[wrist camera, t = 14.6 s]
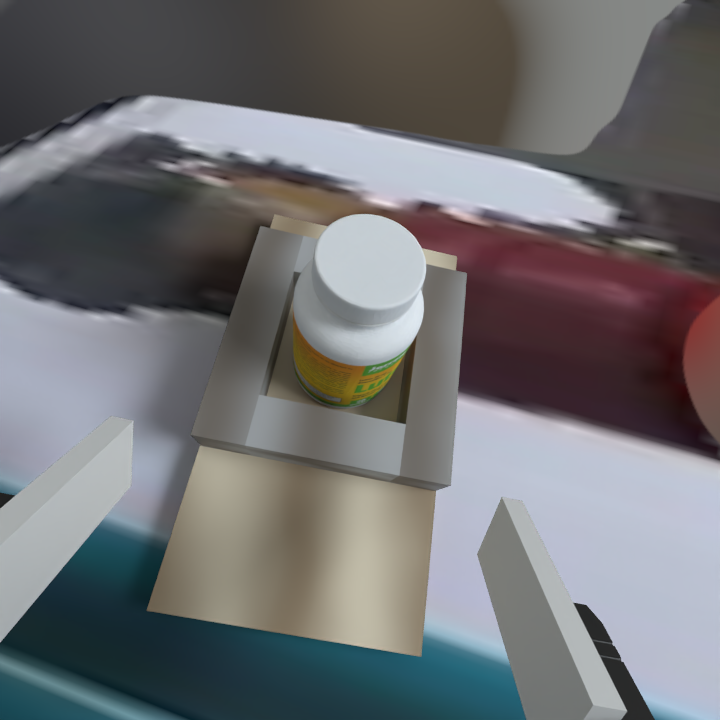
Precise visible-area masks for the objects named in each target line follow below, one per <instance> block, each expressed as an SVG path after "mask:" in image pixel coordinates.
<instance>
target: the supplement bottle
mask: <svg viewBox="0 0 720 720" xmlns="http://www.w3.org/2000/svg"><path fill="white" fill-rule="evenodd" d="M425 275H426V260H425V256H424V253H423V250H422V248H421V246H420V245H419V243H418V241H417V240H416V238H415V237H414V236H413V235H412V234H411V233H410V232H409V231H408V230H407V229H405V228H404V227H403V226H401V225H400V224H398V223H396V222H395V221H392V220H390V219H388V218H385V217H381V216H377V215H371V214H357V215H351V216H347V217H344V218H341V219H339V220H337V221H335V222H333V223H332V224H331V225H329V226H328V227H327V228H326V229H325V230H324V231H323V232H322V234H321V235H320V237H319V238H318V240H317V242H316V246H315V249H314V256H313V259H312V260H311V261H310V262H309V263H308V264H307V265H306V267H305V268H304V269H303V271H302V272H301V274H300V276H299V278H298V280H297V283H296V286H295V291H294V299H293V366H294V372H295V375H296V378H297V380H298V382H299V384H300V385H301V387H302V388H303V389H304V391H305V392H306V393H307V394H308V395H309V396H310V397H312V398H313V399H314V400H316V401H317V402H319V403H321V404H324V405H326V406H329V407H333V408H340V409H347V408H355V407H358V406H361V405H364V404H366V403H368V402H369V401H371V400H372V399H374V398H375V397H376V396H377V395H378V394H379V393H380V392H381V391H382V390H383V388H384V387H385V386H386V384H387V383H388V381H389V379H390V378H391V376H392V374H393V373H394V371H395V370H396V368H397V366H398V365H399V364H400V362H401V360H402V358H403V357H404V355H405V353H406V352H407V350H408V348H409V347H410V345H411V344H412V342H413V340H414V338H415V337H416V335H417V333H418V331H419V329H420V326H421V323H422V320H423V313H424V300H423V295H422V291H421V287H422V285H423V283H424V280H425Z"/></svg>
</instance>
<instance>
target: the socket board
mask: <svg viewBox="0 0 720 720" xmlns="http://www.w3.org/2000/svg"><path fill="white" fill-rule="evenodd" d="M326 228H327V226H323V225H319V224H314V223H310V222H306V221H301V220H297V219H293V218H288V217H284V216H280V215H274V218H273V221H272V224H271V227H270V228H267V227H263V226H260V229H259V232H258V235H257V238H256V241H255V244H254V247H253V250H252V253H251V256H250V259H249V262H248V265H247V268H246V271H245V274H244V277H243V280H242V283H241V286H240V289H239V292H238V295H237V298H236V300H235V303H234V306H233V309H232V312H231V315H230V318H229V321H228V324H227V327H226V330H225V333H224V336H223V339H222V342H221V345H220V348H219V351H218V354H217V357H216V360H215V363H214V366H213V369H212V372H211V375H210V378H209V381H208V384H207V387H206V390H205V393H204V396H203V399H202V402H201V405H200V408H199V411H198V414H197V416H196V419H195V422H194V425H193V428H192V431H191V434H190V435H191V436H192V437H193V438H194V439H195V440H196V441H197V442H198V443H199V444H200V447H199V450H198V453H197V456H196V459H195V462H194V465H193V468H192V472H191V475H190V478H189V481H188V484H187V487H186V490H185V493H184V496H183V499H182V502H181V506H180V509H179V512H178V515H177V518H176V521H175V524H174V527H173V530H172V533H171V537H170V540H169V543H168V546H167V549H166V552H165V555H164V558H163V561H162V564H161V567H160V571H159V574H158V577H157V580H156V583H155V586H154V589H153V592H152V595H151V598H150V601H149V605H148V608H147V611H151V612H157V613H163V614H169V615H175V616H181V617H187V618H193V619H199V620H205V621H211V622H217V623H223V624H229V625H235V626H241V627H247V628H253V629H259V630H265V631H271V632H277V633H283V634H289V635H295V636H301V637H307V638H313V639H319V640H325V641H331V642H336V643H342V644H348V645H354V646H360V647H366V648H372V649H378V650H384V651H390V652H396V653H402V654H408V655H414V656H420V657H421V652H422V641H423V630H424V619H425V608H426V597H427V586H428V574H429V563H430V552H431V541H432V530H433V519H434V507H435V496H436V490H439V489H442V488H445V487H448V486H451V474H452V461H453V448H454V435H455V422H456V409H457V396H458V383H459V370H460V357H461V343H462V330H463V317H464V304H465V291H466V278H467V273H464V272H459V271H456V262H457V256H452V255H448V254H444V253H440V252H435V251H431V250H427V249H422V250H423V253H424V256H425V260H426V275H425V280H424V283H423V285H422V287H421V291H422V295H423V300H424V313H423V320H422V323H421V326H420V329H419V331H418V333H417V335H416V337H415V338H414V340H413V342H412V344H411V345H410V347H409V348H408V350H407V352H406V353H405V355H404V357H403V358H402V360H401V362H400V364H399V365H398V366H397V368H396V370H395V371H394V373H393V374H392V376H391V378H390V379H389V381H388V383H387V384H386V386H385V387H384V388H383V390H382V391H381V392H380V393H379V394H378V395H377V396H376V397H375V398H374V399H372V400H371V401H369V402H368V403H366V404H364V405H361V406H358V407H355V408H347V409H340V408H333V407H329V406H326V405H324V404H321V403H319V402H317V401H316V400H314V399H313V398H312V397H310V396H309V395H308V394H307V393H306V392H305V391H304V389H303V388H302V387H301V385H300V384H299V382H298V380H297V378H296V375H295V372H294V366H293V299H294V291H295V286H296V283H297V280H298V278H299V276H300V274H301V272H302V271H303V269H304V268H305V267H306V265H307V264H308V263H309V262H310V261H311V260H312V259H313V256H314V249H315V246H316V242H317V240H318V238H319V237H320V235H321V234H322V232H323V231H324V230H325V229H326Z"/></svg>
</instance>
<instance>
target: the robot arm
mask: <svg viewBox="0 0 720 720" xmlns="http://www.w3.org/2000/svg"><path fill="white" fill-rule="evenodd" d="M133 423H134V421H133V420H128V419H123V418H118V417H113V416H110V417H109V418H108V419H107V420H105V421H104V422H103V423H102V424H101V425H100V426H98V427H97V428H96V429H95V430H94V431H92V432H91V433H90V434H89V435H88V436H86V437H85V438H84V439H83V440H82V441H80V442H79V443H78V444H77V445H76V446H74V447H73V448H72V449H71V450H70V451H68V452H67V453H66V454H65V455H64V456H62V457H61V458H60V459H59V460H58V461H56V462H55V463H54V464H53V465H52V466H51V467H49V468H48V469H47V470H46V471H45V472H43V473H42V474H41V475H40V476H39V477H37V478H36V479H35V480H34V481H33V482H31V483H30V484H29V485H28V486H27V487H25V488H24V489H23V490H22V491H21V492H19V493H18V494H17V495H16V496H14V495H9V494H4V493H0V642H1V641H2V640H3V639H4V637H5V636H6V635H7V634H8V633H9V631H10V630H11V629H12V628H13V627H14V625H15V624H16V623H17V622H18V621H19V619H20V618H21V617H22V616H23V615H24V613H25V612H26V611H27V610H28V609H29V607H30V606H31V605H32V604H33V603H34V601H35V600H36V599H37V598H38V597H39V595H40V594H41V593H42V592H43V591H44V590H45V588H46V587H47V586H48V585H49V584H50V582H51V581H52V580H53V579H54V578H55V576H56V575H57V574H58V573H59V572H60V570H61V569H62V568H63V567H64V566H65V564H66V563H67V562H68V561H69V560H70V558H71V557H72V556H73V555H74V554H75V552H76V551H77V550H78V549H79V548H80V546H81V545H82V544H83V543H84V542H85V540H86V539H87V538H88V537H89V536H90V534H91V533H92V532H93V531H94V530H95V528H96V527H97V526H98V525H99V524H100V522H101V521H102V520H103V519H104V518H105V516H106V515H107V514H108V513H109V512H110V510H111V509H112V508H113V507H114V506H115V504H116V503H117V502H118V501H119V500H120V498H121V497H122V496H123V495H124V494H125V492H126V491H127V490H128V489H129V488H130V486H131V477H132V450H133ZM477 555H478V558H479V562H480V565H481V568H482V572H483V575H484V579H485V582H486V585H487V589H488V592H489V595H490V599H491V602H492V605H493V609H494V612H495V615H496V619H497V622H498V625H499V629H500V632H501V635H502V639H503V642H504V646H505V649H506V652H507V656H508V659H509V662H510V666H511V669H512V672H513V676H514V679H515V682H516V686H517V689H518V692H519V696H520V699H521V702H522V706H523V709H524V713H525V716H526V719H527V720H655V719H654V718H653V716H652V714H651V712H650V710H649V708H648V707H647V705H646V703H645V701H644V699H643V697H642V696H641V694H640V692H639V690H638V688H637V686H636V685H635V683H634V681H633V679H632V677H631V675H630V674H629V672H628V670H627V668H626V666H625V664H624V662H621V657H620V655H619V653H618V651H617V650H616V648H615V646H613V645H612V640H611V639H610V637H609V635H608V633H607V631H606V629H605V628H604V626H603V624H602V622H601V621H600V620H599V619H598V618H597V617H596V616H595V614H594V613H593V612H592V611H591V610H590V609H589V608H588V606H587V605H583V604H578V603H573V602H572V600H571V598H570V596H569V594H568V592H567V590H566V588H565V586H564V584H563V582H562V580H561V578H560V576H559V574H558V572H557V570H556V568H555V566H554V564H553V562H552V560H551V558H550V556H549V554H548V552H547V550H546V548H545V546H544V543H543V541H542V539H541V537H540V535H539V533H538V531H537V529H536V527H535V525H534V523H533V521H532V519H531V517H530V515H529V513H528V511H527V509H526V507H525V505H524V503H523V501H519V500H514V499H510V498H505V497H502V498H501V500H500V503H499V505H498V507H497V510H496V512H495V514H494V517H493V519H492V521H491V524H490V526H489V528H488V530H487V533H486V535H485V537H484V540H483V542H482V544H481V547H480V549H479V551H478V554H477Z"/></svg>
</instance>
